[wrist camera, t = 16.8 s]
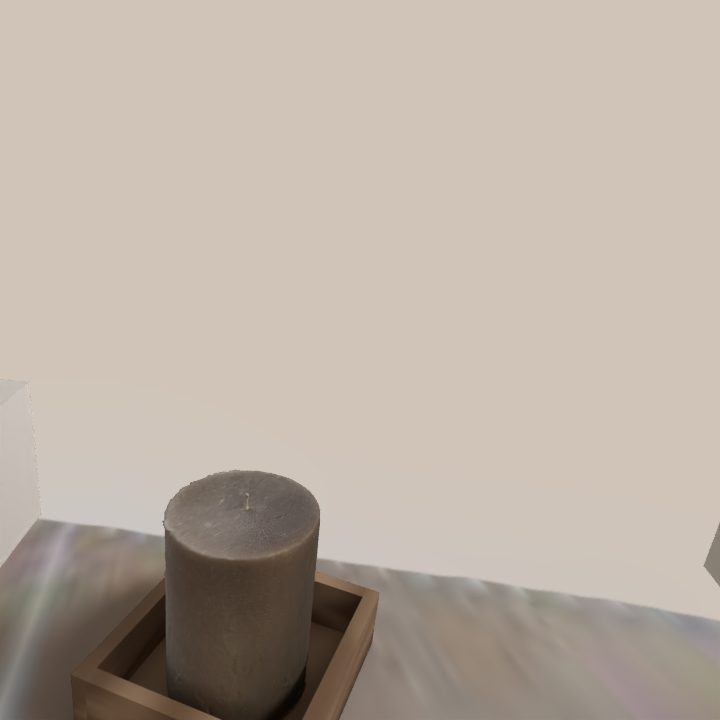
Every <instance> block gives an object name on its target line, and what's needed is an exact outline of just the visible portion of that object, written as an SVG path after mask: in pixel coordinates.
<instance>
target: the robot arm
mask: <svg viewBox="0 0 720 720" xmlns="http://www.w3.org/2000/svg"><path fill="white" fill-rule="evenodd" d="M37 474H38V473H37V462H36V452H35V440H34V429H33V418H32V408H31V396H30V385H29V382H23V381H12V380H1V379H0V567H1V566H2V564H3V563H4V562H5V561H6V559H7V558H8V557H9V555H10V554H11V553H12V551H13V550H14V549H15V548H16V546H17V545H18V544H19V542H20V541H21V540H22V538H23V537H24V536H25V534H26V533H27V532H28V531H29V529H30V528H31V527H32V525H33V524H34V523H35V521H36V520H37V519H38V518H39V516H40V515H41V507H40V496H39V484H38V475H37ZM704 567H705V568H706V569H707V571H708V572H709V573H710V574H711V576H712V577H713V578H714V580H715V581H716V582H717V583H718V585H719V586H720V524H719V527H718V529H717V532H716V534H715V537H714V540H713V542H712V545H711V548H710V550H709V553H708V556H707V558H706V561H705V564H704Z"/></svg>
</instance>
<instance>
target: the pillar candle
mask: <svg viewBox="0 0 720 720" xmlns="http://www.w3.org/2000/svg"><path fill="white" fill-rule="evenodd" d="M163 523H164V524H163V525H164V528H165V561H166V570H165V573H164V576H165V594H166V603H165V607H166V681H167V691H168V694H169V697H170V699H172V700H175V701H177V702H180V703H182V704H185V705H187V706H189V707H192V708H194V709H197V710H199V711H201V712H204V713H206V714H209V715H211V716H213V717H216V718H218V719H221V720H281V719H283V718H284V717H285V716H286V715H287V714H288V713H289V712H290V711H291V710H292V709H293V708H294V706H295V705H296V704H297V703H298V700H299V699H300V698H301V696H302V694H303V692H304V689H305V686H306V682H305V678H306V664H307V659H308V653H309V652H308V649H309V635H310V627H311V613H312V604H313V592H314V581H315V569H316V559H317V548H318V536H319V526H320V509H319V505H318V503H317V501H316V499H315V497H314V496H313V495H312V494H311V492H310V491H309V490H307V489H306V488H305V487H303V486H302V485H300V484H299V483H297V482H295V481H293V480H291V479H289V478H287V477H283V476H279V475H276V474H272V473H266V472H260V471H240V470H232V471H229V472H219V473H215V474H213V475H208V476H207V477H206V478H203V479H201V480H198V481H194V482H191V483H190V485H188V486H186V487H184V488H182V489H180V491H179V492H178V493H177V494H176V495H175V496H174V498H173V499H171V500H170V502H169V504H168V506H167V509H166V511H165V520H164V521H163Z"/></svg>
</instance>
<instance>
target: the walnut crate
mask: <svg viewBox="0 0 720 720" xmlns="http://www.w3.org/2000/svg"><path fill="white" fill-rule="evenodd" d="M378 599H379V592H377V591H374V590H371V589H368V588H365V587H361V586H358V585H355V584H352V583H349V582H346V581H343V580H340V579H337V578H334V577H331V576H328V575H325V574H322V573H319V572H316V571H315V581H314V592H313V604H312V613H311V627H310V635H309V649H308V652H309V653H308V659H307V664H306V678H305V682H306V686H305V689H304V692H303V694H302V696H301V698H300V699H299V700H298V703H297V704H296V705H295V706H294V708H293V709H292V710H291V711H290V712H289V713H288V714H287V715H286V716H285V717H284V718H283V719H281V720H339V718H340V716H341V714H342V711H343V709H344V707H345V704H346V702H347V700H348V697H349V695H350V693H351V690H352V688H353V686H354V683H355V681H356V679H357V676H358V674H359V672H360V669H361V667H362V665H363V662H364V660H365V658H366V655H367V653H368V651H369V648H370V646H371V644H372V639H373V632H374V625H375V619H376V612H377V605H378ZM165 603H166V594H165V578H164V579H163V580H162V581H161V582H160V583H159V584H158V585H157V586H156V587H155V588H154V589H153V590H152V591H151V592H150V593H149V594H148V595H147V596H146V597H145V598H144V600H143V601H142V602H141V603H140V604H139V605H138V606H137V607H136V608H135V609H134V610H133V611H132V612H131V613H130V614H129V615H128V616H127V617H126V618H125V619H124V620H123V621H122V622H121V623H120V624H119V625H118V626H117V627H116V628H115V629H114V631H113V632H112V633H111V634H110V635H109V636H108V637H107V638H106V639H105V640H104V641H103V642H102V643H101V644H100V645H99V646H98V647H97V648H96V649H95V650H94V651H93V652H92V653H91V654H90V655H89V656H88V657H87V658H86V659H85V660H84V662H83V663H82V664H81V665H80V666H79V667H78V668H77V669H76V670H75V671H74V672H73V673H72V674H71V683H72V695H73V708H74V720H221V719H218V718H216V717H213V716H211V715H209V714H206V713H204V712H201V711H199V710H197V709H194V708H192V707H189V706H187V705H185V704H182V703H180V702H177V701H175V700H172V699H170V697H169V694H168V691H167V681H166V607H165Z"/></svg>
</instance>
